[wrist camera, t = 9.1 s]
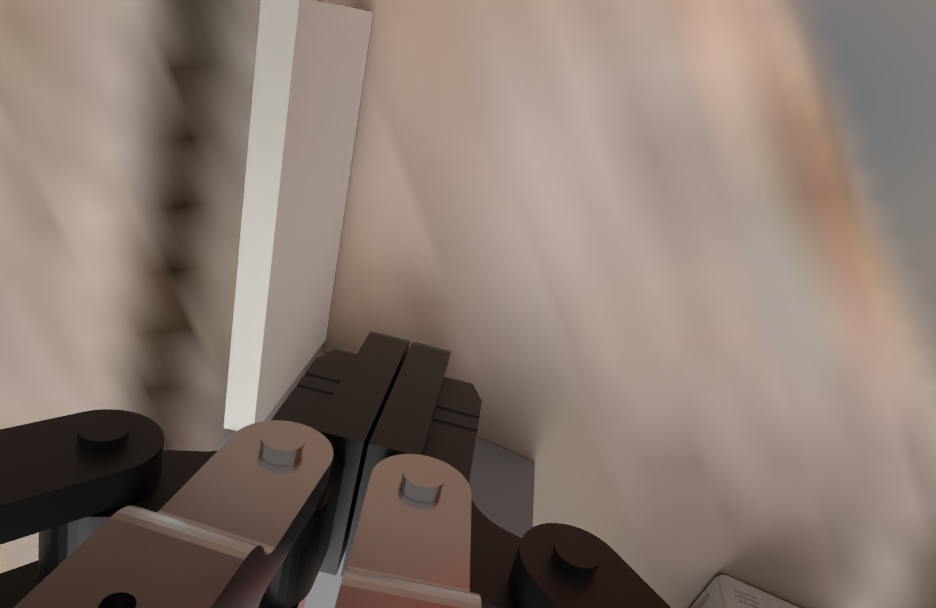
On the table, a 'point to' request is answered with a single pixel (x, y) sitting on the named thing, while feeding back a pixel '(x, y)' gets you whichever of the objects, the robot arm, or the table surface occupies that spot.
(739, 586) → the coffee box
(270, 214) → the side door
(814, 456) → the table surface
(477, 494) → the block
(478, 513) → the robot arm
